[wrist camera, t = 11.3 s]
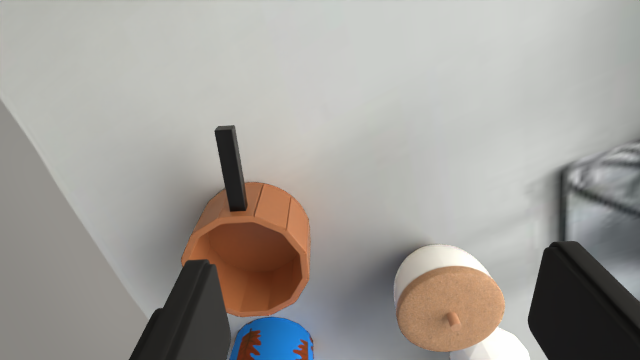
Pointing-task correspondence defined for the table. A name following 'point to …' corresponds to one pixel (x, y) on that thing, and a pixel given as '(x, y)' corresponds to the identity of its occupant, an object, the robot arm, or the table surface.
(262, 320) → the thermos
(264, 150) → the table surface
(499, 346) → the decorative ball
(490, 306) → the trinket box
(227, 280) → the copper saucepan
